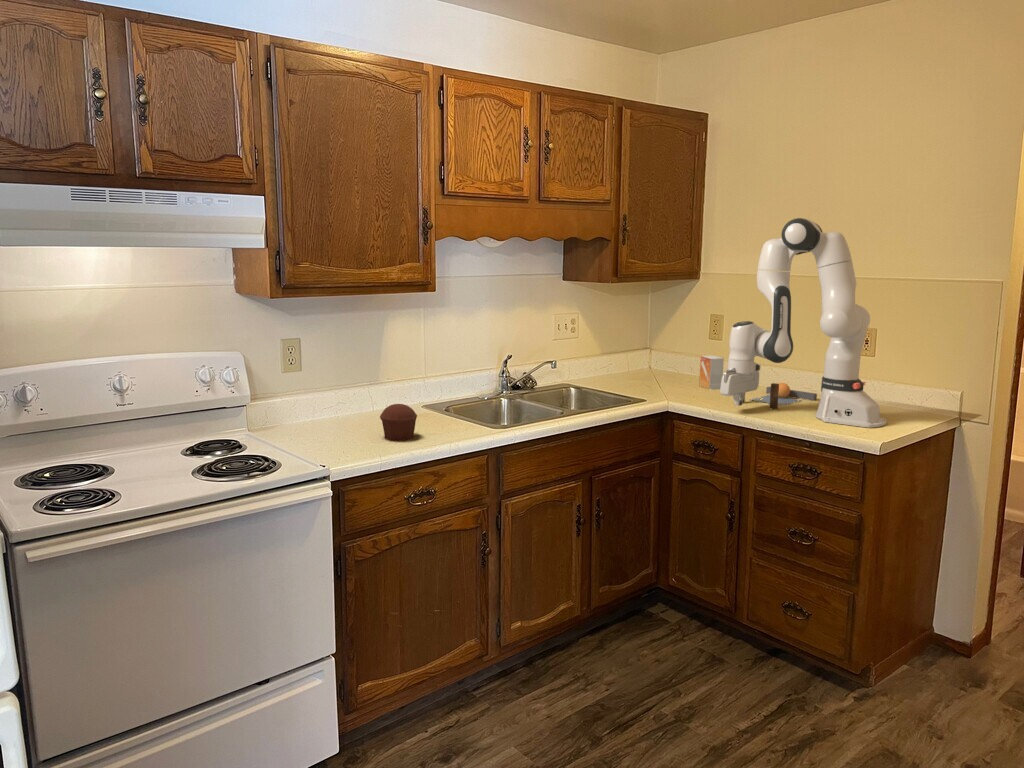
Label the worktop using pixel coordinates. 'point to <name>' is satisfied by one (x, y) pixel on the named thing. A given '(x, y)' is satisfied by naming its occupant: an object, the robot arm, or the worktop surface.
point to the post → (774, 395)
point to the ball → (783, 390)
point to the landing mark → (780, 400)
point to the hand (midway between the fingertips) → (738, 405)
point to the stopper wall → (798, 394)
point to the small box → (711, 372)
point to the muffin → (398, 422)
